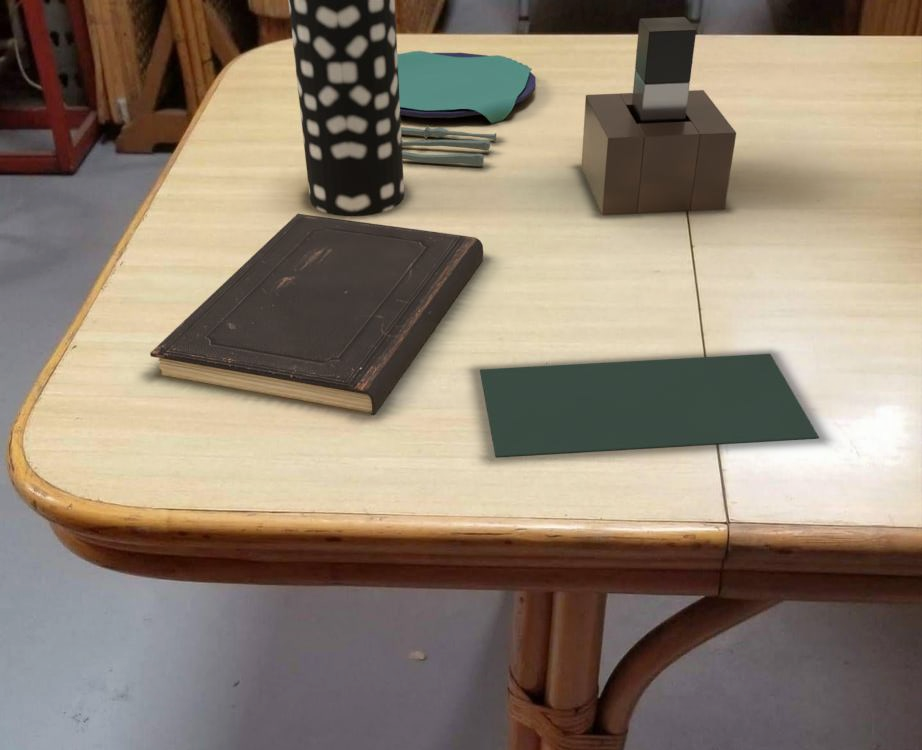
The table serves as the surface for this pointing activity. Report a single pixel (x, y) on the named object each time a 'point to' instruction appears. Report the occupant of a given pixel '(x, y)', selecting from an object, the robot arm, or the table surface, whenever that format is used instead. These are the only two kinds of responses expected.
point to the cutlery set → (458, 96)
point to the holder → (656, 157)
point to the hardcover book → (324, 312)
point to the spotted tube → (349, 103)
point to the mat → (641, 405)
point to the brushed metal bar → (662, 70)
